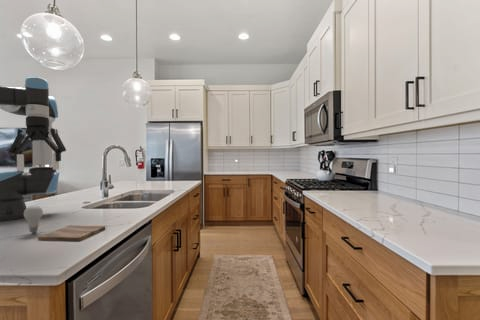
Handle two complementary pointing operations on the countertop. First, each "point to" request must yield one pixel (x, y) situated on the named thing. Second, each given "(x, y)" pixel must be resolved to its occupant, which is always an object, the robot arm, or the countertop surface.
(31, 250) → the countertop surface
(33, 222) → the lightbulb
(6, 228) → the countertop surface
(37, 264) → the countertop surface
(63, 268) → the countertop surface
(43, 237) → the plate
